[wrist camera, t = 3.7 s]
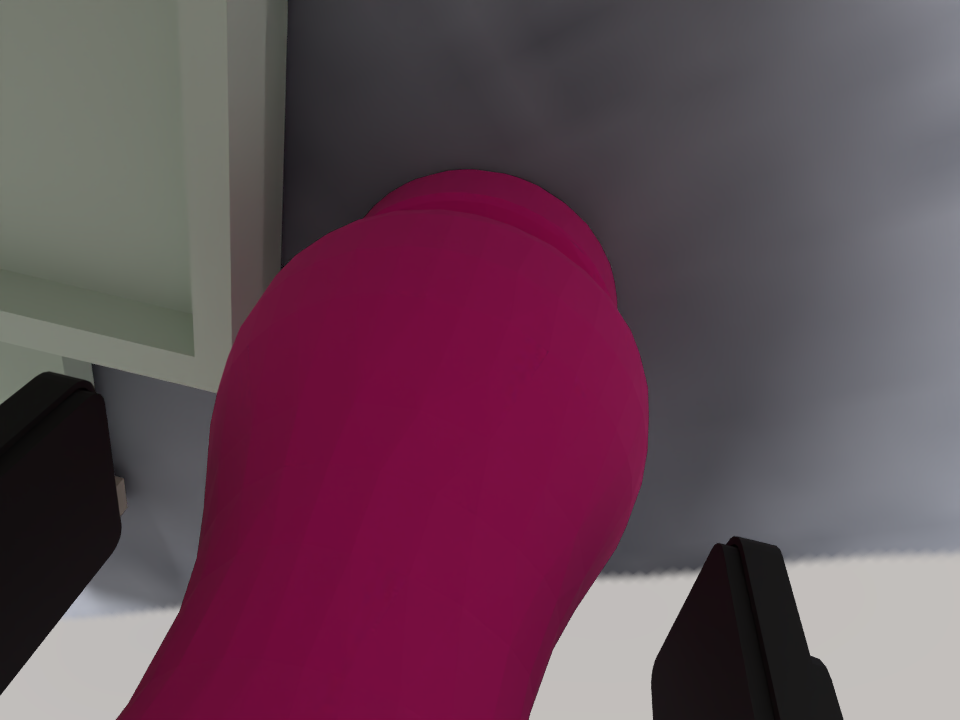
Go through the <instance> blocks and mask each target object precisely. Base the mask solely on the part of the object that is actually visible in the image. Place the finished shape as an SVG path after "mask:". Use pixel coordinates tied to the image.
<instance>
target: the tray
mask: <svg viewBox="0 0 960 720" xmlns="http://www.w3.org/2000/svg"><path fill="white" fill-rule="evenodd" d="M287 19H288V0H0V404H2V403H3V402H4V401H5V400H7V399H8V398H9V397H10V396H12V395H13V394H14V393H16V392H17V391H18V390H19V389H21V388H22V387H23V386H24V385H26V384H27V383H28V382H29V381H31V380H32V379H33V378H34V377H36V376H37V375H39V374H41V373H42V372H47V371H51V372H55V373H59V374H63V375H67V376H71V377H75V378H80V379H84V380H87V381H90V382H91V383H92V384H93V385H94V379H93V372H92V366H91V363H93V364H97V365H101V366H105V367H110V368H114V369H118V370H122V371H126V372H130V373H135V374H139V375H143V376H147V377H151V378H155V379H160V380H164V381H168V382H172V383H176V384H180V385H184V386H189V387H193V388H197V389H201V390H205V391H209V392H214V393H217V391H218V388H219V384H220V381H221V378H222V374H223V371H224V368H225V365H226V361H227V358H228V356H229V353H230V351H231V348H232V346H233V343H234V341H235V339H236V336H237V334H238V331H239V329H240V327H241V325H242V324H243V323H244V321H245V320H246V318H247V317H248V315H249V314H250V312H251V311H252V309H253V308H254V306H255V305H256V303H257V302H258V301H259V299H260V298H261V296H262V295H263V293H264V292H265V290H266V289H267V287H268V286H269V284H270V283H271V282H272V280H273V279H274V277H275V276H276V275H277V274H278V273H279V272H280V270H281V239H282V202H283V166H284V129H285V92H286V56H287ZM94 388H95V386H94ZM115 482H116V489H117V496H118V504H119V511H120V516H121V515H122V514H123V513H124V512H125V510H126V509H127V508H128V507H127V500H126V492H125V484H124V478H121V477H117V476H115Z"/></svg>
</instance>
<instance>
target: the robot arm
mask: <svg viewBox="0 0 960 720" xmlns="http://www.w3.org/2000/svg"><path fill="white" fill-rule="evenodd" d="M120 535H121V519H120V511H119V504H118V496H117V489H116V482H115V474H114V467H113V460H112V452H111V445H110V437H109V430H108V423H107V415H106V408H105V402H104V398H103V397H102V396H101V395H100V394H97V393H96V391H95V388H94V385H93V384H92V383H91V382H90V381H87V380H84V379H80V378H75V377H71V376H67V375H63V374H59V373H55V372H51V371H47V372H42V373H41V374H39V375H37V376H36V377H34V378H33V379H32V380H31V381H29V382H28V383H27V384H26V385H24V386H23V387H22V388H21V389H19V390H18V391H17V392H16V393H14V394H13V395H12V396H10V397H9V398H8V399H7V400H5V401H4V402H3V403H2V404H0V695H1V694H2V693H3V691H4V690H5V689H6V687H7V686H8V685H9V684H10V682H11V681H12V680H13V679H14V677H15V676H16V675H17V674H18V672H19V671H20V670H21V668H22V667H23V666H24V665H25V663H26V662H27V661H28V660H29V658H30V657H31V656H32V654H33V653H34V652H35V651H36V649H37V648H38V647H39V646H40V644H41V643H42V642H43V640H44V639H45V638H46V637H47V635H48V634H49V632H50V631H51V630H52V629H53V628H54V626H55V625H56V624H57V623H58V621H59V620H60V619H61V618H62V616H63V615H64V614H65V612H66V611H67V610H68V609H69V607H70V606H71V605H72V604H73V602H74V601H75V600H76V599H77V597H78V596H79V595H80V593H81V592H82V591H83V590H84V588H85V587H86V586H87V585H88V583H89V582H90V581H91V579H92V578H93V577H94V576H95V574H96V573H97V572H98V571H99V569H100V568H101V567H102V565H103V564H104V563H105V562H106V560H107V559H108V558H109V557H110V555H111V554H112V553H113V551H114V550H115V548H116V546H117V544H118V542H119V539H120ZM651 690H652V708H653V720H843V717H842V713H841V710H840V706H839V703H838V700H837V696H836V693H835V689H834V686H833V683H832V679H831V677H830V675H829V672H828V670H827V668H826V666H825V665H824V664H823V663H822V661H821V660H820V659H818V658H815V657H813V656H810V653H809V650H808V646H807V642H806V638H805V635H804V631H803V628H802V624H801V621H800V617H799V613H798V610H797V606H796V603H795V599H794V595H793V592H792V588H791V584H790V581H789V577H788V574H787V570H786V567H785V563H784V559H783V556H782V553H781V551H780V549H779V548H778V547H777V546H775V545H771V544H767V543H762V542H758V541H754V540H750V539H746V538H742V537H737V536H733V537H732V538H731V539H730V540H729V541H728V543H727V544H726V545H725V544H721V543H717V544H715V545H714V547H713V548H712V550H711V552H710V554H709V556H708V558H707V560H706V562H705V564H704V566H703V568H702V570H701V571H700V573H699V575H698V577H697V579H696V581H695V583H694V585H693V587H692V589H691V591H690V593H689V595H688V597H687V599H686V601H685V603H684V605H683V607H682V609H681V610H680V612H679V615H678V616H677V618H676V620H675V622H674V624H673V626H672V628H671V630H670V632H669V634H668V636H667V638H666V640H665V642H664V644H663V646H662V648H661V650H660V652H659V653H658V655H657V658H656V660H655V663H654V666H653V671H652V680H651Z"/></svg>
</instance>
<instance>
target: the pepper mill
mask: <svg viewBox="0 0 960 720" xmlns="http://www.w3.org/2000/svg"><path fill="white" fill-rule="evenodd" d="M648 424H649V405H648V386H647V382H646V378H645V374H644V370H643V365H642V361H641V357H640V353H639V351H638V348H637V345H636V343H635V340H634V337H633V335H632V332H631V330H630V329H629V327H628V325H627V324H626V322H625V321H624V319H623V317H622V316H621V314H620V313H619V311H618V310H617V295H616V288H615V282H614V278H613V274H612V270H611V266H610V263H609V261H608V259H607V257H606V255H605V253H604V251H603V249H602V246H601V244H600V243H599V241H598V240H597V238H596V237H595V235H594V234H593V232H592V231H591V229H590V228H589V226H588V225H587V224H586V223H585V222H584V221H583V220H582V219H581V218H580V217H579V216H578V215H577V214H576V213H575V212H574V211H573V210H572V209H571V208H570V207H569V206H567V205H566V204H565V203H564V202H562V201H561V200H559V199H558V198H556V197H555V196H553V195H552V194H550V193H549V192H547V191H545V190H544V189H542V188H541V187H539V186H538V185H535V184H533V183H530V182H528V181H526V180H523V179H521V178H518V177H515V176H511V175H508V174H504V173H496V172H489V171H482V170H475V169H464V170H451V171H444V172H440V173H436V174H433V175H429V176H425V177H421V178H417V179H415V180H413V181H410V182H408V183H406V184H404V185H402V186H401V187H399V188H397V189H396V190H394V191H392V192H390V193H389V194H388V195H387V196H385V197H384V198H383V199H382V200H381V201H379V202H378V203H377V204H376V205H375V206H374V207H373V208H372V209H371V210H370V211H369V212H368V213H367V215H366V216H365V217H364V218H363V219H360V220H356V221H354V222H352V223H350V224H348V225H345V226H343V227H341V228H339V229H336V230H334V231H332V232H330V233H328V234H326V235H325V236H323V237H322V238H320V239H319V240H317V241H316V242H314V243H313V244H311V245H310V246H308V247H307V248H305V249H304V250H302V251H301V252H299V253H298V254H296V255H295V256H294V257H293V258H292V259H291V260H290V261H289V262H288V263H287V264H286V265H285V266H284V267H283V268H282V269H281V270H280V272H279V273H278V274H277V275H276V276H275V277H274V279H273V280H272V282H271V283H270V284H269V286H268V287H267V289H266V290H265V292H264V293H263V295H262V296H261V298H260V299H259V301H258V302H257V303H256V305H255V306H254V308H253V309H252V311H251V312H250V314H249V315H248V317H247V318H246V320H245V321H244V323H243V324H242V325H241V327H240V329H239V331H238V334H237V336H236V339H235V341H234V343H233V346H232V348H231V351H230V353H229V356H228V358H227V361H226V365H225V368H224V371H223V374H222V378H221V381H220V384H219V388H218V391H217V396H216V401H215V405H214V410H213V414H212V419H211V424H210V435H209V448H208V461H207V474H206V486H205V499H204V511H203V518H202V525H201V532H200V539H199V546H198V553H197V559H196V562H195V565H194V568H193V571H192V574H191V578H190V581H189V584H188V587H187V590H186V593H185V596H184V599H183V602H182V605H181V608H180V611H179V613H178V615H177V617H176V619H175V621H174V622H173V624H172V626H171V628H170V629H169V631H168V633H167V635H166V637H165V638H164V640H163V642H162V644H161V646H160V647H159V649H158V651H157V653H156V655H155V656H154V658H153V660H152V662H151V664H150V665H149V667H148V669H147V671H146V673H145V674H144V676H143V678H142V680H141V682H140V684H139V685H138V687H137V689H136V690H135V692H134V694H133V696H132V698H131V700H130V701H129V703H128V705H127V706H126V707H125V708H124V710H123V711H122V712H121V714H120V715H119V716H118V718H117V719H116V720H529V716H530V712H531V709H532V707H533V704H534V701H535V698H536V696H537V693H538V690H539V687H540V684H541V682H542V679H543V676H544V673H545V670H546V667H547V665H548V662H549V659H550V656H551V654H552V651H553V649H554V647H555V645H556V643H557V642H558V640H559V638H560V636H561V634H562V632H563V631H564V629H565V627H566V626H567V624H568V622H569V620H570V618H571V617H572V615H573V613H574V611H575V610H576V608H577V607H578V605H579V604H580V602H581V601H582V599H583V598H584V596H585V595H586V593H587V592H588V590H589V589H590V587H591V586H592V584H593V583H594V581H595V580H596V578H597V577H598V575H599V574H600V572H601V571H602V569H603V568H604V566H605V565H606V563H607V562H608V560H609V559H610V557H611V556H612V554H613V553H614V551H615V550H616V548H617V546H618V544H619V541H620V539H621V537H622V535H623V532H624V530H625V528H626V526H627V523H628V520H629V518H630V515H631V512H632V509H633V507H634V504H635V501H636V498H637V495H638V493H639V490H640V487H641V484H642V479H643V473H644V468H645V462H646V456H647V448H648Z"/></svg>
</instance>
